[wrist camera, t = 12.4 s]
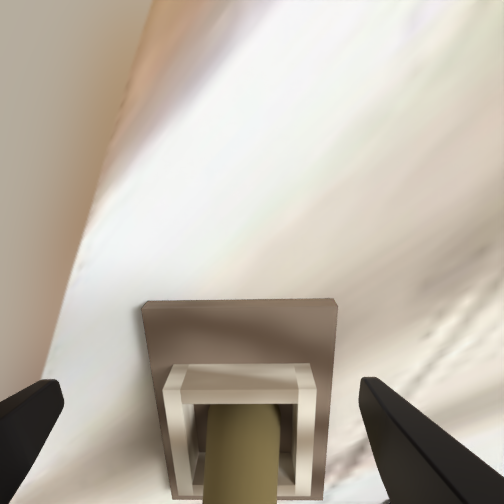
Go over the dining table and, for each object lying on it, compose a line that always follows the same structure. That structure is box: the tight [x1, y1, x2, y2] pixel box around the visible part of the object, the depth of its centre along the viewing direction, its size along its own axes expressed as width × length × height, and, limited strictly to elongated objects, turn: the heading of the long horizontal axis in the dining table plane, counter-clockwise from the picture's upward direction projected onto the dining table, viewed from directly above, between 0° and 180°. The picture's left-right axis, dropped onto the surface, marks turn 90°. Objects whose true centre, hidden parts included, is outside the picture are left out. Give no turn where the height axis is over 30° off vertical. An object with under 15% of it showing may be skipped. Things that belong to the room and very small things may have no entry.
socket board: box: [141, 299, 338, 500], centre depth 21 cm, size 20×14×4 cm
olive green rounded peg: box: [202, 404, 281, 504], centre depth 16 cm, size 6×6×11 cm
